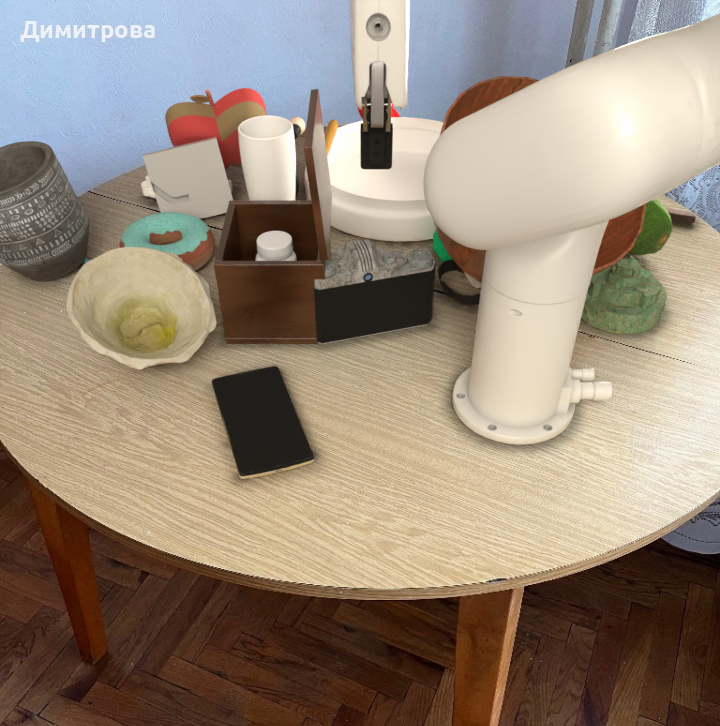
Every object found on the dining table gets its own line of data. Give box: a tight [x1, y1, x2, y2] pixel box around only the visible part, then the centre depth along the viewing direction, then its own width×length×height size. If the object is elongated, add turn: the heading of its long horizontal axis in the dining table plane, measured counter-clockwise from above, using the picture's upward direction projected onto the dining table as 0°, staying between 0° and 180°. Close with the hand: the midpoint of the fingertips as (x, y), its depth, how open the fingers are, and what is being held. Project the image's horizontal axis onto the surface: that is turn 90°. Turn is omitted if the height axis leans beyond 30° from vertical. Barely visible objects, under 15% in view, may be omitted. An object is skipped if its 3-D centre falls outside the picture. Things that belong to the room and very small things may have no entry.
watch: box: [437, 260, 482, 306], centre depth 93 cm, size 8×5×4 cm, turn 31°
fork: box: [307, 119, 340, 181], centre depth 107 cm, size 2×2×20 cm
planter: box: [0, 140, 90, 282], centre depth 94 cm, size 12×12×13 cm
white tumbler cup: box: [238, 114, 297, 201], centre depth 98 cm, size 7×7×15 cm
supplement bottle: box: [255, 231, 297, 261], centre depth 89 cm, size 5×5×8 cm
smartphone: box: [211, 365, 315, 480], centre depth 79 cm, size 7×1×15 cm
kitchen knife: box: [665, 207, 697, 224], centre depth 108 cm, size 18×1×2 cm
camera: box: [314, 238, 437, 345], centre depth 88 cm, size 15×7×10 cm, turn 106°
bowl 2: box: [434, 75, 646, 283], centre depth 89 cm, size 25×25×11 cm
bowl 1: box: [65, 247, 218, 371], centre depth 84 cm, size 15×14×10 cm
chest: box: [213, 199, 332, 345], centre depth 89 cm, size 12×14×10 cm
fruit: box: [626, 197, 673, 256], centre depth 99 cm, size 15×10×10 cm
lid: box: [303, 88, 332, 261], centre depth 81 cm, size 12×14×1 cm
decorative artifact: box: [581, 255, 668, 335], centre depth 90 cm, size 10×7×10 cm
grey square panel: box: [142, 137, 234, 219], centre depth 106 cm, size 12×11×4 cm
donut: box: [118, 212, 216, 272], centre depth 99 cm, size 12×12×4 cm
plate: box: [303, 116, 444, 243], centre depth 110 cm, size 27×27×6 cm
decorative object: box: [164, 87, 268, 170], centre depth 108 cm, size 14×4×15 cm
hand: (376, 165), depth 80 cm, fingers closed
